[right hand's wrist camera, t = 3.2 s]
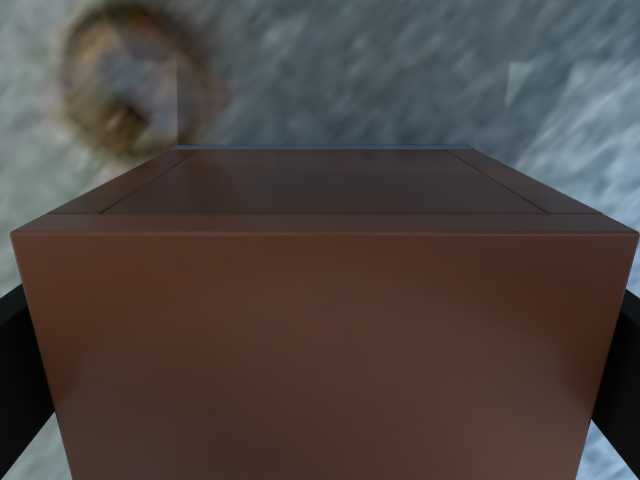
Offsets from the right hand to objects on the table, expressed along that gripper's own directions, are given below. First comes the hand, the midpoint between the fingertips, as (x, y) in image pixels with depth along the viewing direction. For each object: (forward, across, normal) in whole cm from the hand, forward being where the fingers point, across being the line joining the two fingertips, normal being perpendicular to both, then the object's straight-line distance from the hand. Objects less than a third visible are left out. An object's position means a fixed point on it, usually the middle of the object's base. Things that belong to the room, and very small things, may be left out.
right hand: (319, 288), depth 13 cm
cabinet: (+5, 0, -5) cm, 8 cm away
